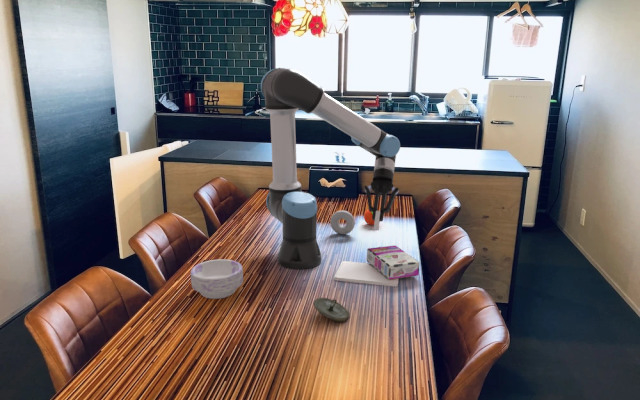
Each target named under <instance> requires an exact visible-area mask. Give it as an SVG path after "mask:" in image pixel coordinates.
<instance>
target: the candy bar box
mask: <svg viewBox="0 0 640 400" xmlns="http://www.w3.org/2000/svg"><path fill="white" fill-rule="evenodd" d="M366 251H367V252H366V262H367V263H369V264H371V265H372V266H373V267H375V268H376V269H377V270H378V271H379V272H380V273H382V274H383V275H384V276H385V277H386V278H388V279H389V280H390V279H396V278H399V279H402V278H404V279H405V278H410V277H417V276H419V274H420V264H421V263H420V261H418V260H417V259H416V258H414V257H413V256H412V255H410V254H409V253H407V252H406V251H404V250H402V249H401V248H400V247H398V246H397V245H388V246H379V247H369V248H367V249H366Z"/></svg>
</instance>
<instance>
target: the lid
mask: <svg viewBox="0 0 640 400" xmlns="http://www.w3.org/2000/svg"><path fill="white" fill-rule="evenodd" d="M313 307H314V309H315V310H316V311H317V312H318V313H319V314H321V315H322V316H324V318H327V319H329V320H332V321H334V322H340V323H341V322H342V323H344V322H346V321H347V320H348V319H349V318H350V313H349V311H348V310H347V308H346V307H345V306H343V305H342V304H341V303H339V302H338V301H337V299H331V298H327V297H318V298H316V299H315V300H314V301H313Z"/></svg>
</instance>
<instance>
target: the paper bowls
mask: <svg viewBox="0 0 640 400" xmlns="http://www.w3.org/2000/svg"><path fill="white" fill-rule="evenodd" d="M243 273H244V270H243V265H242V264H241V263H240V262H239V261H236V260H232V259H226V258H225V259H224V258H223V259H222V258H221V259H211V260H205V261H203V262H200V263H198V264H196V265H194V266H193V267H192V268H191V270H190V283H191V288H192V289H193V290H194V291H196V292H197V293H199V294H200V295H201V296H202V297H204V298H206V299H212V300H218V299H224V298H228V297H230V296H232V295H233V294H234V293H235V292H236V291H237V289H238V288H239V287H241V286H242V284H243V283H244V274H243Z"/></svg>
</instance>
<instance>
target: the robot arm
mask: <svg viewBox="0 0 640 400" xmlns="http://www.w3.org/2000/svg"><path fill="white" fill-rule="evenodd" d="M260 92H261V94H262V96H263V98H264V103H265V105H264V107H265V111H267V113H269V116H270V117H269V118H270V119H269V121H270V138H271V139H270V142H271V163H272V164H271V165H272V166H271V167H272V168H271V169H272V181H271V182H270V184H269V185H268V190H269V192H268V193H267V196H266V199H265V200H266V202H265V203H266V207H267V210H268V212H269V214H270V215H271V217H273V218H274V219H276V220H277V221H278V222H280V223H281V224H282V241H281V244H280V246H279V250H278V253H277V263H278V264H279V265H280V266H282V267H284V268H288V269H292V270H303V269H304V270H305V269H310V268H314V267H315V268H316V267H317V266H318V265H320V264H321V263H322V252H321V251H320V247H319V244H318V241H317V229H318V228H317V223H318V222H317V221H318V219H317V217H318V205H317V199H316V197H315V196H314V195H312V194H311V193H308V192H305V191H302V184H301V182H300V181H298V176H297V175H298V174H297V173H298V172H297V171H298V170H297V147H296V146H297V141H296V140H297V138H296V112H298V110H300V111H303V112H304V113H306V114H308V115H309V114H314V115H315V116H317V117H318V118H320V119H322V120H324V121H325V122H326V123H328V124H330V125H332V126H333V127H335V128H337V129H338V130H340V131H341V132H343V133H344V134H346V135H348V136H350V137H351V139H350V140H351V142H352V143H354V144H355V145H356V146H357V147H360V148H361V149H363V150H364V151H366V152H369V153H370V154H372V155H373V156H374V157H375V161H374V166H373V167H374V168H373V175H372V181H371V183H370V185H364V187H363V188H364V192H365V193H366V200H367V205H368V208H367V209H368V210H369V211H370V212H373V215H372V220H373V221H375V222H374V225H373V230H374V231H379V230H380V222H383V221H384V216H385V214H389V213H390V211H391V209H392V206H393V204H394V202H395V198H396V197H397V196H398V194H399V193H400V192H399V191H400V190H399V187H395V186H394V183H393V182H394V173H395V167H396V159H397V155H398V153H399V151H400V149H401V142H400V140H399V138H398V137H396V136H394V135H393V134H389V133H387V132H386V131H384V130H383V129H381V128H379V127H378V126H376V125H375V124H374V123H372V122H371V121H368V120H367V119H366V118H364V117H362V116H361V115H359V114H357V113H356V112H355V111H353V110H351V109H350V108H349V107H347V106H346V105H344V104H343V103H341V102H339V101H338V100H337V99H335V98H333V97H332V96H330V95H328V94H327V93H326V92H325V89H324V88H323V87H322V86H321V85H319V84H318V83H316V82H315V81H313V79H311V78H310V77H308V76H307V75H306V74H304V73H303V72H301V71H299V70H297V69H293V68H284V67H283V68H282V67H277V68H273V69H270V70H269V71H267V72H266V73H265V74H264V75H263V77H262V79H261V82H260ZM371 191H373V193H374V202H373V204H372V199H371V198H372V197H371ZM390 192H391V194H390ZM388 194H390V197H389V199H388V201H387V204H386V200H387V195H388ZM380 196H381V200H380V201H381V202H380V207H379V208H380V210H378V206H379V198H380ZM372 205H373V206H372Z"/></svg>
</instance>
